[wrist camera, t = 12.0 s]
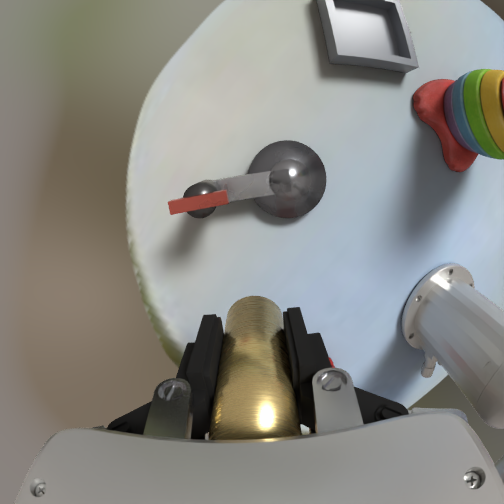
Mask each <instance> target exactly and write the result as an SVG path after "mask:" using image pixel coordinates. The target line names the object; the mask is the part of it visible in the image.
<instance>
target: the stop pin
mask: <svg viewBox="0 0 504 504" xmlns="http://www.w3.org/2000/svg"><path fill="white" fill-rule="evenodd" d="M301 435H302V433H301V427H300V420H299V414H298V408H297V401H296V395H295V391H294V389H293V382H292V376H291V370H290V364H289V358H288V351H287V345H286V339H285V333H284V323H283V318H282V313H281V311H280V309H279V307H278V306H277V305H276V304H275V303H274V302H273V301H271V300H269V299H267V298H265V297H261V296H249V297H245V298H242V299H240V300H238V301H237V302H235V303H234V304H233V305H232V306H231V308H230V309H229V311H228V314H227V319H226V325H225V332H224V338H223V344H222V351H221V357H220V364H219V370H218V377H217V383H216V390H215V396H214V403H213V410H212V417H211V424H210V430H209V437H208V440H253V439H270V438H282V437H292V436H301Z"/></svg>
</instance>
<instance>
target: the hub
mask: <svg viewBox="0 0 504 504" xmlns="http://www.w3.org/2000/svg"><path fill="white" fill-rule="evenodd" d="M285 159H293V160H297V161H299V162H301V163H303V164H304V165H305V166H306V167H307V169H308V170H309V172H310V175H311V186H310V189H309V191H308V192H307V194H306V195H305V196H304V197H302V198H301V199H299V200H296V201H284V200H282V199H280V198H278V197H277V196H276V195H275V194H274V195H268V196H261V197H255V198H254V200H255V201H256V203H257V204H258V205H259V206H260V207H261V208H262V209H263V210H265V211H266V212H267V213H269V214H271V215H274V216H277V217H281V218H294V217H298V216H302V215H304V214H306V213H308V212H309V211H311V210H312V209H313V208H314V207H315V206H316V205H317V204H318V203H319V201H320V200H321V198H322V196H323V194H324V191H325V187H326V172H325V168H324V165H323V163H322V161H321V159H320V158H319V156H318V155H317V154H316V153H315V152H314V151H313V150H312V149H311V148H309V147H308V146H306V145H304V144H302V143H299V142H296V141H278V142H275V143H272V144H270V145H268V146H266V147H265V148H263V149H262V150H261V151H260V152H259V153H258V154H257V155H256V156H255V158H254V159H253V161H252V163H251V166H250V169H249V174H252V173H259V172H265V171H270V170H271V168H272V167H273V166H274V165H275V164H276V163H277V162H279V161H281V160H285Z"/></svg>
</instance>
